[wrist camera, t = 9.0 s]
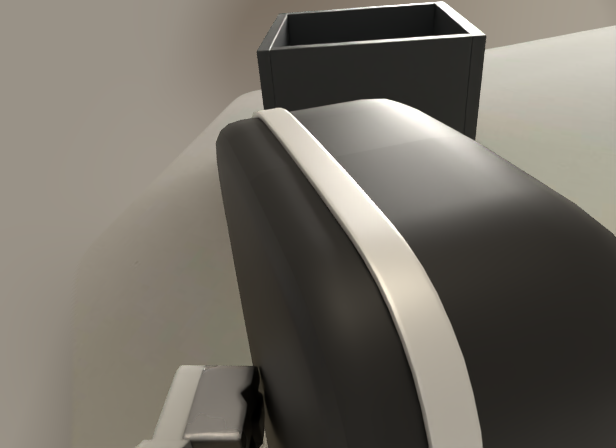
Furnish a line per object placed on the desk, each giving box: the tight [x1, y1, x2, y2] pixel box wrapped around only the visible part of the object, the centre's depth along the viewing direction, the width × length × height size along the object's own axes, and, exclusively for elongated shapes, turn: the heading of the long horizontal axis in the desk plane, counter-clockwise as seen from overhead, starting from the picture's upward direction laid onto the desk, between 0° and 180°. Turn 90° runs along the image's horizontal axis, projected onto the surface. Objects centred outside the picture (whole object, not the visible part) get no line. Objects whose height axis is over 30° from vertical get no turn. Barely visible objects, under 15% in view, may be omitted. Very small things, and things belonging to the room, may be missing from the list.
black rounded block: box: [216, 99, 616, 448], centre depth 9 cm, size 7×4×11 cm, turn 18°
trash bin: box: [257, 2, 486, 141], centre depth 38 cm, size 14×14×10 cm
